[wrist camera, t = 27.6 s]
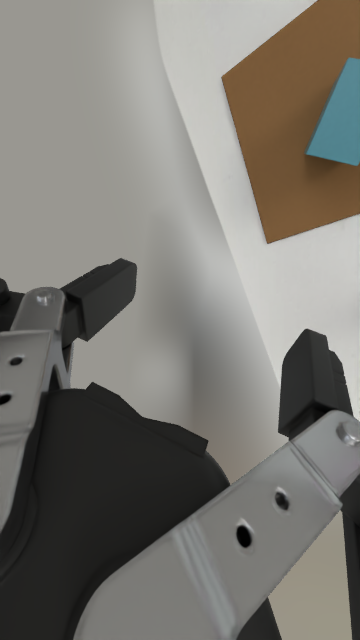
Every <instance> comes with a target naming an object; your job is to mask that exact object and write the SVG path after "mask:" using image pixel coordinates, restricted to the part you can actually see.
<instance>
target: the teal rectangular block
mask: <svg viewBox="0 0 360 640" xmlns="http://www.w3.org/2000/svg"><path fill="white" fill-rule="evenodd" d="M304 154H307V155H312V156H316V157H320V158H324V159H328V160H333V161H337V162H341V163H345V164H350V165H354V166H358V164H359V162H360V59H356V58H350V57H349V58H348V59H347V61H346V63H345V64H344V66H343V68H342V70H341V71H340V73H339V75H338V77H337V79H336V80H335V82H334V84H333V87H332V89H331V91H330V94H329V96H328V98H327V101H326V103H325V105H324V108H323V110H322V112H321V115H320V117H319V119H318V121H317V124H316V126H315V128H314V131H313V133H312V135H311V138H310V140H309V142H308V145H307V147H306V149H305V152H304Z"/></svg>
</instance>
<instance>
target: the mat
mask: <svg viewBox="0 0 360 640" xmlns="http://www.w3.org/2000/svg"><path fill="white" fill-rule="evenodd" d="M349 57H350V58H356V59H360V0H318V1H316V2H315V3H314V4H313V5H311V6H310V7H309V8H308V9H306V10H305V11H304V12H303V13H301V14H300V15H299V16H298V17H296V18H295V19H294V20H293V21H291V22H290V23H289V24H288V25H286V26H285V27H284V28H282V29H281V30H280V31H279V32H277V33H276V34H275V35H274V36H272V37H271V38H270V39H269V40H267V41H266V42H265V43H264V44H262V45H261V46H260V47H259V48H257V49H256V50H255V51H253V52H252V53H251V54H250V55H248V56H247V57H246V58H245V59H243V60H242V61H241V62H240V63H238V64H237V65H236V66H235V67H233V68H232V69H231V70H230V71H228V72H227V73H226V74H225V75H223V76H222V81H223V85H224V88H225V92H226V96H227V99H228V103H229V106H230V110H231V114H232V117H233V121H234V125H235V128H236V132H237V136H238V139H239V143H240V146H241V150H242V154H243V157H244V161H245V165H246V168H247V172H248V175H249V179H250V183H251V186H252V190H253V194H254V197H255V201H256V204H257V208H258V212H259V215H260V219H261V223H262V226H263V230H264V233H265V237H266V241H267V244H268V243H271V242H274V241H277V240H280V239H283V238H286V237H289V236H292V235H295V234H298V233H301V232H305V231H308V230H311V229H314V228H317V227H320V226H323V225H326V224H329V223H332V222H335V221H338V220H341V219H344V218H347V217H350V216H353V215H356V214H359V213H360V162H359V164H358V166H354V165H350V164H345V163H341V162H337V161H333V160H328V159H324V158H320V157H316V156H312V155H307V154H304V152H305V149H306V147H307V145H308V142H309V140H310V138H311V135H312V133H313V131H314V128H315V126H316V124H317V121H318V119H319V117H320V115H321V112H322V110H323V108H324V105H325V103H326V101H327V98H328V96H329V94H330V91H331V89H332V87H333V84H334V82H335V80H336V79H337V77H338V75H339V73H340V71H341V70H342V68H343V66H344V64H345V63H346V61H347V59H348V58H349Z"/></svg>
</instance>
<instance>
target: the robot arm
mask: <svg viewBox="0 0 360 640" xmlns="http://www.w3.org/2000/svg"><path fill="white" fill-rule="evenodd" d="M136 275H137V266H136V264H135V263H132V262H130V261H127V260H124V259H122V258H120V259H118V260H116V261H115V262H113V263H111V264H110V265H109V264H107V265H103V266H99V267H96V268H95V269H93V270H91V271H90V272H88V273H86V274H84V275H83V277H82V276H81V277H79V278H77V279H76V280H74V281H72V282H71V283H69V284H67V285H66V286H64V287H62V288H60V289H57V288H53V287H40V288H36V289H33V290H31V291H29V292H27V293H26V294H24V293H17V292H12V291H9V289H8V286H7V284H6V282H5V281H4V280H3V279H1V278H0V640H282V639H281V636H280V633H279V630H278V627H277V624H276V621H275V617H274V614H273V611H272V608H271V605H270V602H269V599H268V596H269V595H270V593H271V592H272V591H273V590H274V588H275V587H276V586H277V585H278V584H279V583H280V581H281V580H282V579H283V578H284V576H285V575H286V574H287V573H288V572H289V571H290V569H291V568H292V567H293V566H294V565H295V563H296V562H297V561H298V560H299V559H300V557H301V556H302V555H303V554H304V552H306V550H307V549H308V548H309V547H310V545H311V544H312V543H313V542H314V541H315V540H316V538H317V537H318V536H319V534H321V532H322V531H323V530H324V529H325V528H326V526H327V525H328V524H329V523H330V522H331V520H332V519H333V518H334V517H335V515H336V514H337V513H338V512H339V511H340V510H341V511H342V514H343V527H344V538H345V552H346V565H347V578H348V590H349V602H350V615H351V627H352V628H351V629H352V640H360V422H359V421H358V420H357V419H356V418H354V416H353V412H352V407H351V403H350V398H349V394H348V389H347V385H345V384H346V380H345V376H343V375H344V371H343V366H342V363H341V361H340V360H339V358H338V357H337V355H336V354H335V352H333V351H330V350H329V347H328V342H327V337H326V336H325V335H323V334H320V333H317V332H315V331H312V330H309V329H305V330H304V331H303V332H302V333H301V334H300V336H299V337H298V339H297V340H296V341H295V343H294V344H293V345H292V347H291V348H290V349H289V351H288V352H287V354H286V356H285V358H284V360H283V364H282V376H281V393H280V410H279V425H278V433H280V434H282V435H285V436H287V437H289V442H287V443H286V444H285V445H283V446H282V447H281V448H279V449H278V450H277V451H275V452H274V453H273V454H271V455H270V456H269V457H267V458H266V459H265V460H264V461H262V462H261V463H259V464H258V465H257V466H255V467H254V468H253V469H251V470H250V471H249V472H248V473H246V474H245V475H244V476H242V477H241V478H240V479H238V480H237V481H236V482H234V483H233V484H232V485H230V483H229V481H228V479H227V477H226V475H225V473H224V472H223V470H222V468H221V467H220V466H219V464H218V463H217V462H216V461H215V459H214V458H213V457H212V456H211V455H210V454H209V453H208V452H207V451H206V447H207V444H208V440H206V439H204V438H202V437H200V436H198V435H196V434H194V433H192V432H190V431H188V430H186V429H184V428H183V427H181V426H178V425H175V424H171V423H166V422H161V421H157V420H152V419H148V418H144V417H142V416H141V415H139V414H138V413H137V412H136V411H135V410H134V409H133V408H132V407H131V406H130V405H129V404H128V403H127V402H126V401H124V400H123V399H122V398H121V397H120V396H119V395H117V394H115V393H113V392H111V391H109V390H107V389H106V388H104V387H101V386H99V385H97V384H95V383H94V382H92V383H91V384H90V385H89V386H88V387H87V388H86V390H85V389H75V388H74V389H71V388H70V377H71V368H72V359H73V348H74V343H73V341H74V340H75V339H76V338H77V337H78V338H80V339H83V340H85V341H87V342H88V340H90V339H91V338H92V337H93V336H94V335H95V334H96V333H97V332H99V331H100V330H101V329H102V328H103V327H104V326H105V325H106V324H107V323H108V322H109V321H111V320H112V319H113V318H114V317H115V316H116V315H117V314H118V313H119V312H120V311H122V310H123V309H124V308H125V307H126V306H127V305H128V304H129V303H130V302H131V301H132V299H133V298H134V295H135V290H136Z"/></svg>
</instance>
